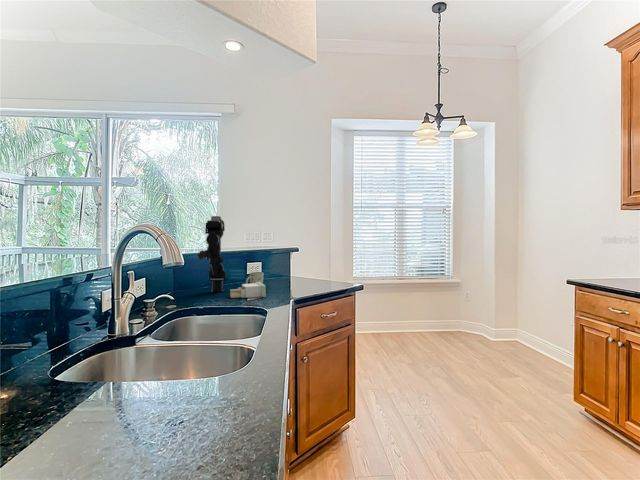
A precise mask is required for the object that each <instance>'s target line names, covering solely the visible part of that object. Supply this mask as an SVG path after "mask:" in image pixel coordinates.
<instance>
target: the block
mask: <svg viewBox="0 0 640 480" xmlns="http://www.w3.org/2000/svg"><path fill="white" fill-rule="evenodd" d="M237 289H243V290H241V295H242V297H241V298H247V299H248V298H257V297H259V298H260V297H261V286H260V285H259V284H257V283H252V284H251V283H248V284H246V283H242V284H241V287H238V288H237Z"/></svg>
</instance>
